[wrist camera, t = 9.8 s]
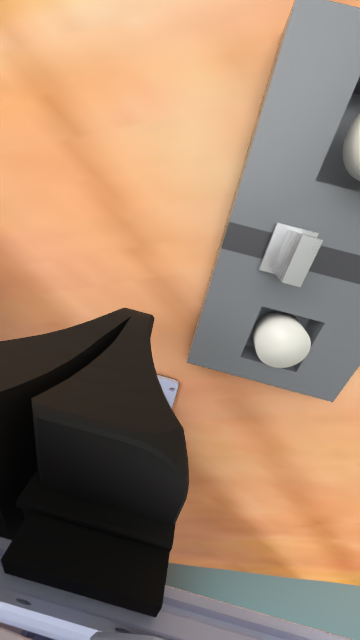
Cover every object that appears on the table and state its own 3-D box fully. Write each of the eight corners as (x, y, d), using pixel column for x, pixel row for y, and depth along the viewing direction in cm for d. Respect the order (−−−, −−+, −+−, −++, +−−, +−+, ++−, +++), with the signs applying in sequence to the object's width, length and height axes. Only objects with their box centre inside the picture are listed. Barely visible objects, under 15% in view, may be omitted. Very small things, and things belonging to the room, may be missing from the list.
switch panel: (320, 381, 21) (332, 402, 19) (189, 345, 21) (186, 362, 19) (514, 86, 12) (582, 60, 10) (283, 30, 12) (297, -7, 10)
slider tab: (295, 278, 15) (311, 294, 12) (258, 268, 15) (266, 282, 12) (316, 232, 14) (340, 239, 11) (276, 222, 14) (290, 226, 11)
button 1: (289, 357, 19) (296, 373, 17) (245, 345, 19) (248, 360, 17) (310, 318, 18) (320, 331, 16) (262, 306, 18) (267, 317, 16)
